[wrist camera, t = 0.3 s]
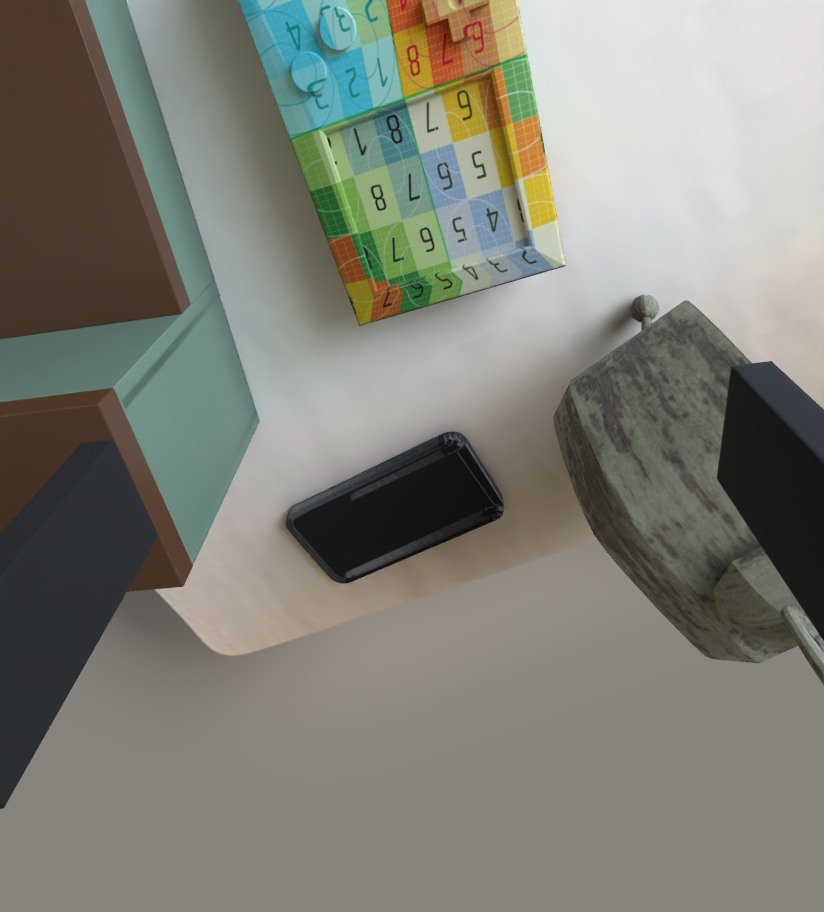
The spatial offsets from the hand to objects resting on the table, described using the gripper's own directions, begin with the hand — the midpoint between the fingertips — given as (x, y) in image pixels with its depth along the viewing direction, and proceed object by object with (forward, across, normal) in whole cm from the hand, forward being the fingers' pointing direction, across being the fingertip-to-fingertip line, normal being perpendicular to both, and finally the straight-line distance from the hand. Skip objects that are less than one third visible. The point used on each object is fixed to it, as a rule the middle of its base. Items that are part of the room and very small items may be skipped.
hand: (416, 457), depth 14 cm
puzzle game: (+26, 0, +6) cm, 27 cm away
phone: (+26, -5, -21) cm, 34 cm away
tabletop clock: (+26, +13, -13) cm, 32 cm away
